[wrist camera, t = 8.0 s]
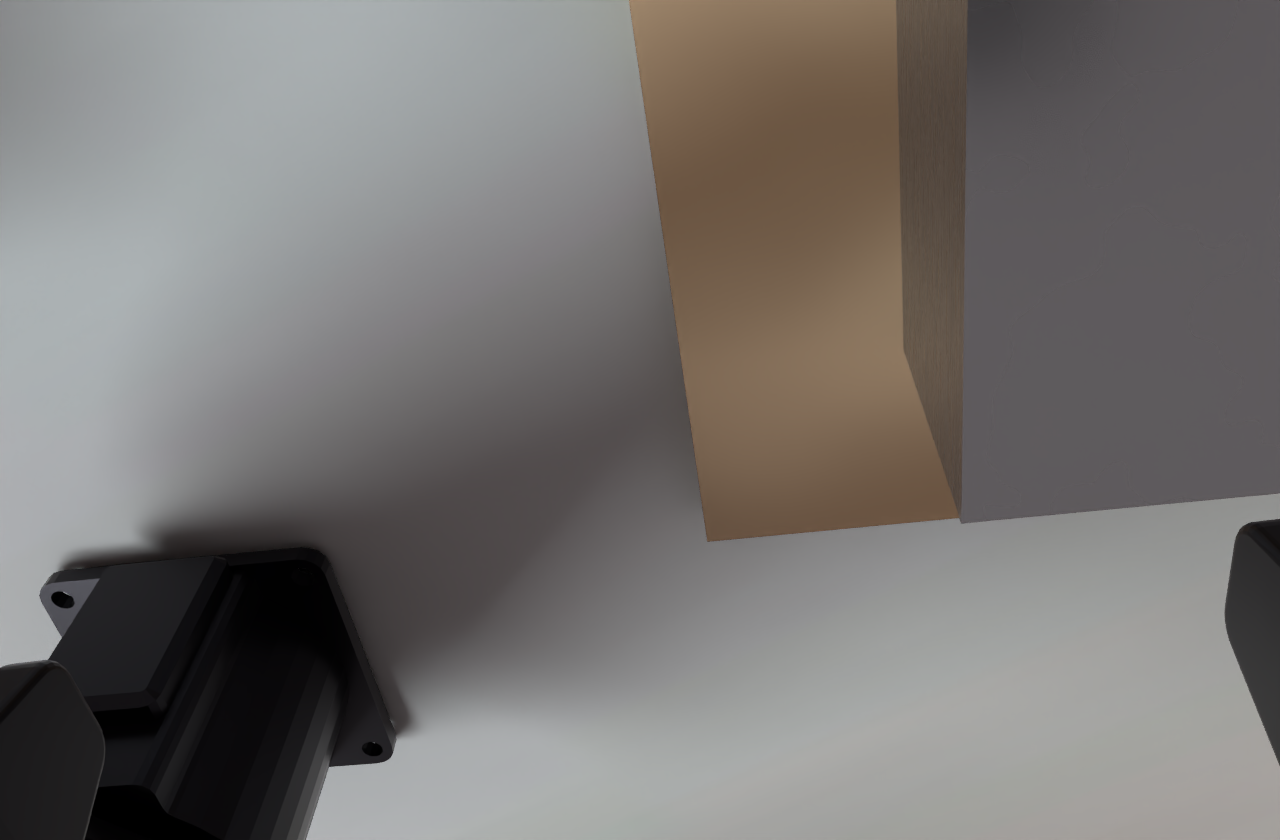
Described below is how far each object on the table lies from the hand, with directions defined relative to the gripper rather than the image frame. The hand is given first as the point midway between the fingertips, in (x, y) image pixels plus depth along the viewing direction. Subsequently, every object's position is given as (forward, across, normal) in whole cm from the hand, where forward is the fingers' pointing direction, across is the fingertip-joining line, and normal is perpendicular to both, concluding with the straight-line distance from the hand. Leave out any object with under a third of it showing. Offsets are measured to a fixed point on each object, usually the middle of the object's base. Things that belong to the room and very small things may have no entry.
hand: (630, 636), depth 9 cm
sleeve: (+12, -7, 0) cm, 13 cm away
